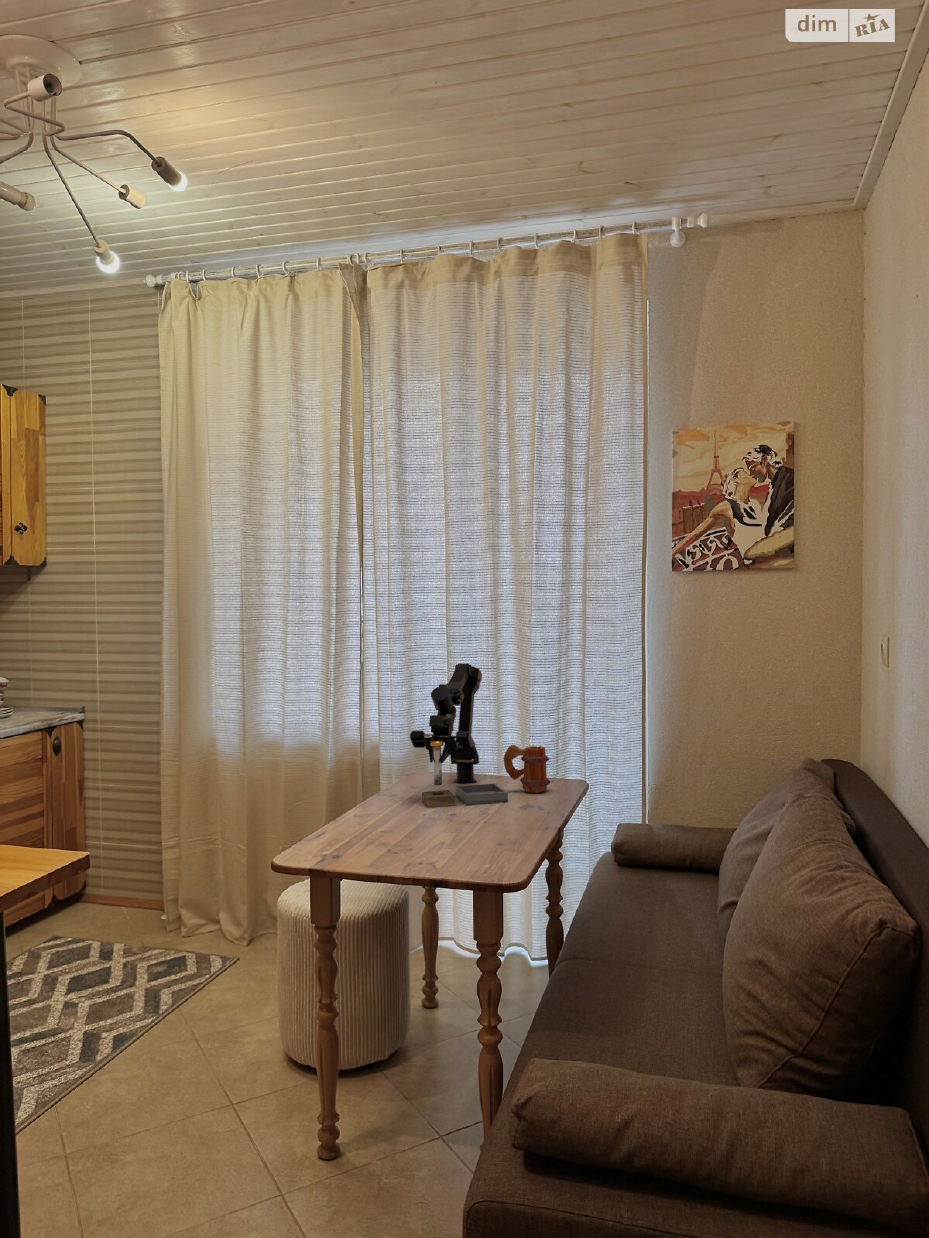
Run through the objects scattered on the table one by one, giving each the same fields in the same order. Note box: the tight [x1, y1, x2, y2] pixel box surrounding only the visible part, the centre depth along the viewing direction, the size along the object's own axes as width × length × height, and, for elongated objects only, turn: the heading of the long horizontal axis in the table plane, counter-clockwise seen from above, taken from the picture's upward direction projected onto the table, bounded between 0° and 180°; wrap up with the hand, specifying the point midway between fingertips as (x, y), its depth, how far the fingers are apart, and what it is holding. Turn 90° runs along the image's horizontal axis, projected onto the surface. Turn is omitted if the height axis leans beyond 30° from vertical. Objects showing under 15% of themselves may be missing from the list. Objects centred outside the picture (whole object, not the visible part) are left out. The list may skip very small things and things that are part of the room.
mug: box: [503, 744, 551, 794], centre depth 290 cm, size 15×8×15 cm, turn 84°
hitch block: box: [421, 789, 456, 809], centre depth 277 cm, size 8×8×3 cm
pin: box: [430, 740, 445, 787], centre depth 276 cm, size 4×4×13 cm
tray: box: [455, 783, 509, 806], centre depth 282 cm, size 14×13×3 cm
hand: (436, 762), depth 275 cm, fingers closed on pin, 3 cm apart
